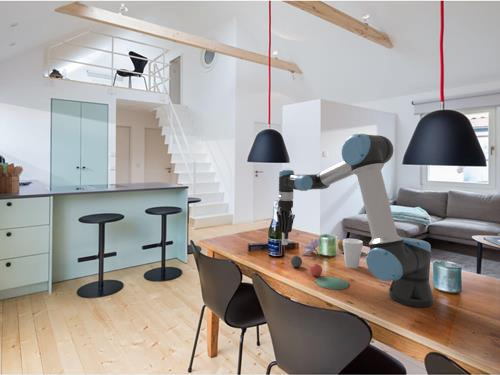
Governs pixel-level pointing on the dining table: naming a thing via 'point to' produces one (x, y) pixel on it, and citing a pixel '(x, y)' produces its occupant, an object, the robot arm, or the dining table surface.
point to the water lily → (314, 244)
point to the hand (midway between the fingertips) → (284, 244)
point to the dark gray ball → (296, 261)
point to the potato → (340, 245)
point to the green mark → (332, 283)
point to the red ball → (316, 269)
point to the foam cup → (352, 252)
